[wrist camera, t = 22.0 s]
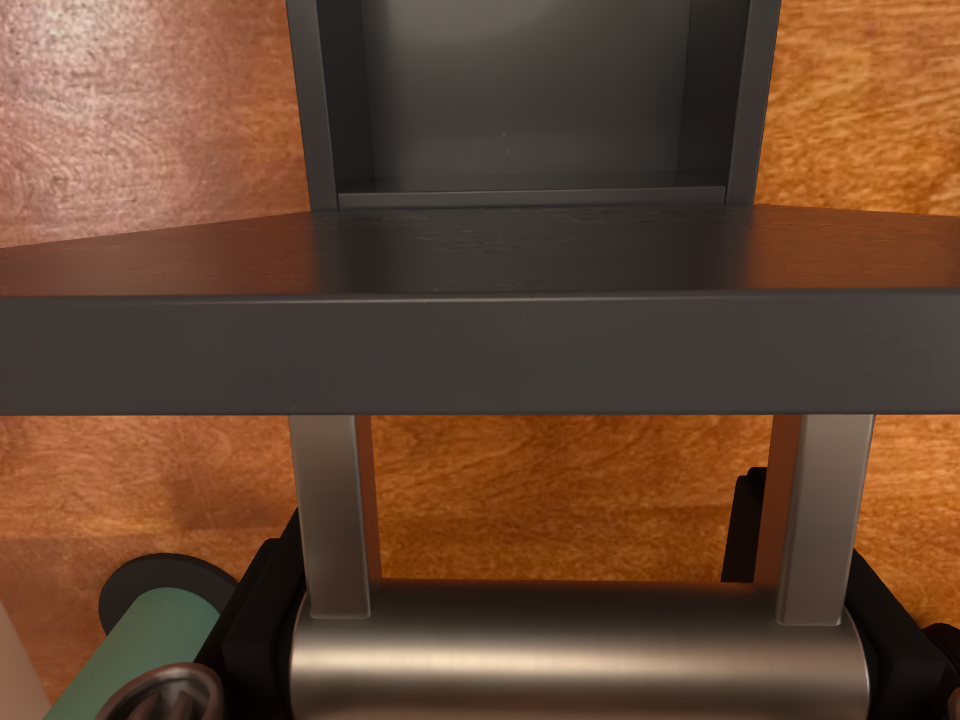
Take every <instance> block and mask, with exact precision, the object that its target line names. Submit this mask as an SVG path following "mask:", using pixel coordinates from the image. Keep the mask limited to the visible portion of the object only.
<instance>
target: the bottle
mask: <svg viewBox="0 0 960 720" xmlns="http://www.w3.org/2000/svg"><path fill="white" fill-rule="evenodd" d="M219 617H220V615H219V613H218V612H217V610H216V609H215V608H214V607H213V606H212V605H211V604H210V603H209V602H208V601H206V600H205V599H203V598H202V597H200V596H199V595H197V594H195V593H192V592H190V591H187V590H184V589H179V588H172V587H163V588H156V589H152V590H150V591H147V592H145V593H143V594H142V595H140V596H139V597H138V598H137V599H136V600H135V601H134V602H133V604H132V605H131V606H130V608H129V609H128V610H127V611H126V613H125V614H124V615H123V617H122V618H121V619H120V620H119V622H118V623H117V624H116V626H115V627H114V628H113V629H112V631H111V632H110V633H109V635H108V636H107V637H106V638H105V640H104V641H103V642H102V644H101V645H100V646H99V647H98V649H97V650H96V651H95V653H94V654H93V655H92V656H91V658H90V659H89V660H88V662H87V663H86V664H85V665H84V667H83V668H82V669H81V671H80V672H79V673H78V674H77V676H76V677H75V678H74V680H73V681H72V682H71V683H70V685H69V686H68V687H67V689H66V690H65V691H64V692H63V694H62V695H61V696H60V698H59V699H58V700H57V701H56V703H55V704H54V705H53V707H52V708H51V709H50V710H49V712H48V713H47V714H46V716H45V717H44V718H43V720H94V719H95V717H96V714H97V713H98V712H99V711H100V709H101V708H102V707H103V706H104V704H105V703H106V702H107V700H108V699H109V698H110V697H111V696H112V695H113V694H115V693H116V692H117V691H118V690H119V689H120V688H122V687H123V686H124V685H125V684H126V683H128V682H130V681H131V680H133V679H135V678H136V677H138V676H140V675H142V674H143V673H145V672H147V671H150V670H153V669H155V668H158V667H161V666H163V665H167V664H173V663H180V662H191V663H193V661H194V659H195V657H196V656H197V654H198V652H199V651H200V649H201V647H202V646H203V644H204V642H205V640H206V639H207V637H208V635H209V634H210V632H211V630H212V629H213V627H214V625H215V623H216V622H217V620H218V618H219Z"/></svg>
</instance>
